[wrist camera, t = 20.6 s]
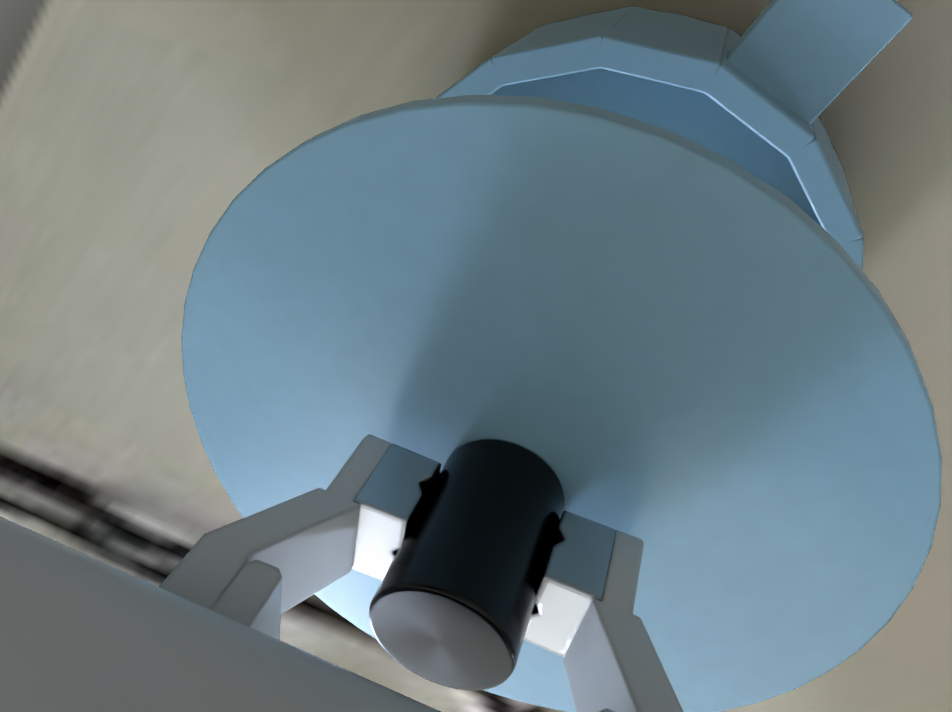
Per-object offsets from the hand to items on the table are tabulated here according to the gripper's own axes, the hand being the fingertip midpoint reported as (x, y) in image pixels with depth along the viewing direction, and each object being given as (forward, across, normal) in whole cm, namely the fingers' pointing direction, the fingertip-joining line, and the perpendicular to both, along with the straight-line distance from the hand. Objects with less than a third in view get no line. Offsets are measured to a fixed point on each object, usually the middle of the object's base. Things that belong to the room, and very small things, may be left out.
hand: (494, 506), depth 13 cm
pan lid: (+1, 0, 0) cm, 1 cm away
